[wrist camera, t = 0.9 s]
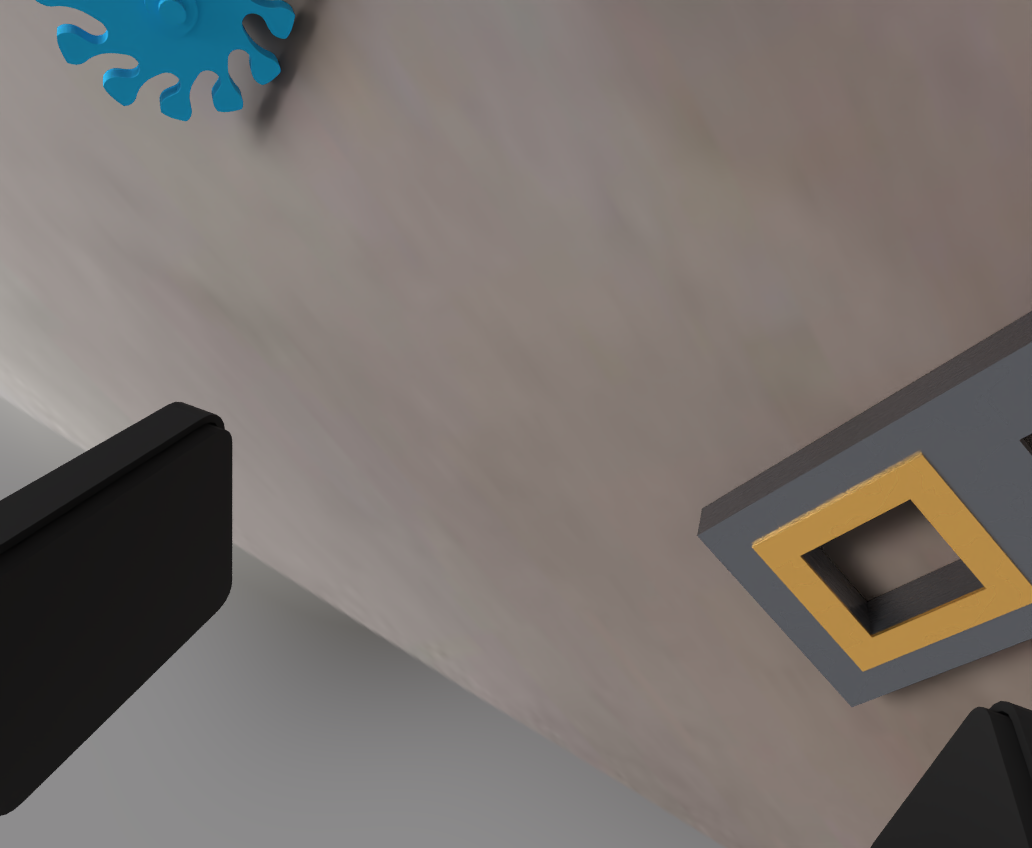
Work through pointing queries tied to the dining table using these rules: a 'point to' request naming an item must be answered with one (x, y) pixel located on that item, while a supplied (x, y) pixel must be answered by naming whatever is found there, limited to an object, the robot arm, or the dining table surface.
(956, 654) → the rail
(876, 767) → the dining table surface
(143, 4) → the blue lobed cog wheel
